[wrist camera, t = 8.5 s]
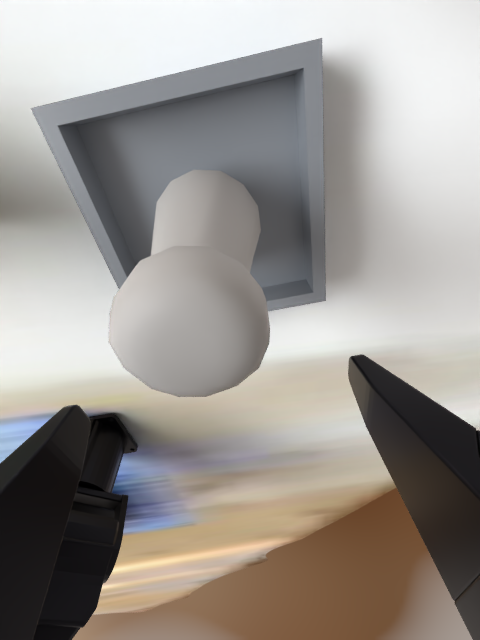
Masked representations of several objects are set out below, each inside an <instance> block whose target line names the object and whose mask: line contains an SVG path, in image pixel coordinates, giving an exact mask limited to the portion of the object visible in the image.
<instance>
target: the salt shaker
mask: <svg viewBox="0 0 480 640" xmlns="http://www.w3.org/2000/svg"><path fill="white" fill-rule="evenodd" d="M260 232H261V227H260V218H259V210H258V205H257V204H256V202H255V201H254V199H253V198H252V196H251V195H250V193H249V192H248V190H247V189H246V187H245V186H244V184H242V183H240V182H239V181H237V180H235V179H234V178H232V177H230V176H229V175H227V174H225V173H224V172H222V171H214V170H192V171H190V172H188V173H186V174H184V175H182V176H180V177H178V178H176V179H174V180H172V181H171V182H170V183H169V184H168V186H167V187H166V189H165V190H164V192H163V193H162V195H161V196H160V198H159V199H158V201H157V204H156V212H155V221H154V230H153V240H152V249H151V256H149V257H147V258H145V259H143V260H140V261H139V263H138V264H137V265H136V267H135V268H134V269H133V271H132V272H131V273H130V275H129V276H128V278H127V279H126V281H125V282H124V283H123V285H122V286H121V288H120V289H119V291H118V292H117V293H116V295H115V296H114V299H113V303H112V307H111V311H110V322H109V344H110V345H111V347H112V349H113V350H114V352H115V354H116V356H117V357H118V359H119V361H120V362H121V364H122V366H123V367H124V368H125V369H126V370H127V371H128V372H130V373H131V374H132V375H134V376H135V377H136V378H138V379H139V380H140V381H142V382H143V383H144V384H146V385H147V386H149V387H150V388H151V389H154V390H157V391H161V392H164V393H168V394H171V395H174V396H178V397H206V396H209V395H212V394H215V393H218V392H221V391H224V390H227V389H230V388H232V387H235V386H237V385H239V384H240V383H241V382H242V381H243V380H245V379H246V378H247V377H248V376H250V375H251V374H252V373H253V372H255V371H256V370H257V369H258V368H259V367H260V364H261V362H262V359H263V357H264V354H265V352H266V350H267V347H268V345H269V337H270V325H269V317H268V310H267V302H266V298H265V295H264V293H263V290H262V288H261V287H260V285H259V284H258V283H257V282H256V280H255V279H254V278H253V277H252V275H251V274H250V270H251V265H252V261H253V257H254V253H255V250H256V246H257V242H258V239H259V235H260Z"/></svg>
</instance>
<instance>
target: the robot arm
mask: <svg viewBox="0 0 480 640" xmlns="http://www.w3.org/2000/svg"><path fill="white" fill-rule="evenodd" d="M348 377H349V381H350V384H351V387H352V390H353V392H354V395H355V398H356V400H357V403H358V406H359V409H360V411H361V414H362V417H363V419H364V422H365V425H366V427H367V429H368V431H369V433H370V435H371V437H372V439H373V441H374V443H375V445H376V447H377V449H378V451H379V453H380V455H381V457H382V459H383V461H384V463H385V465H386V467H387V469H388V471H389V473H390V475H391V477H392V479H393V481H394V483H395V485H396V487H397V489H398V491H399V493H400V495H401V497H402V499H403V501H404V503H405V505H406V507H407V509H408V511H409V513H410V515H411V517H412V519H413V521H414V523H415V525H416V527H417V529H418V531H419V533H420V535H421V537H422V539H423V541H424V543H425V545H426V546H427V549H428V551H429V553H430V555H431V557H432V559H433V561H434V563H435V565H436V567H437V569H438V571H439V572H440V575H441V576H442V579H443V580H444V583H445V585H446V587H447V589H448V591H449V592H450V594H451V597H452V598H453V600H454V601H455V605H456V607H457V609H458V611H459V613H460V615H461V617H462V619H463V621H464V623H465V625H466V627H467V629H468V631H469V633H470V635H471V637H472V639H473V640H480V431H479V430H477V431H476V428H474V427H473V426H471V425H470V424H468V423H467V422H465V421H464V420H462V419H461V418H459V417H458V416H456V415H455V414H453V413H452V412H450V411H449V410H447V409H446V408H444V407H443V406H441V405H439V404H438V403H436V402H435V401H433V400H432V399H430V398H429V397H427V396H426V395H424V394H423V393H421V392H420V391H418V390H417V389H415V388H414V387H412V386H411V385H409V384H408V383H406V382H404V381H403V380H401V379H400V378H398V377H397V376H395V375H394V374H392V373H391V372H389V371H388V370H386V369H385V368H383V367H382V366H380V365H379V364H377V363H376V362H374V361H372V360H371V359H369V358H368V357H366V356H365V355H355V356H351V357H350V358H349V369H348ZM137 448H138V446H137V444H136V443H135V441H134V440H133V438H132V437H131V436H130V434H129V433H128V431H127V430H126V428H125V427H124V426H123V424H122V423H121V421H120V420H119V418H118V417H117V416H116V415H115V414H105V415H99V416H93V417H88V416H87V415H86V414H85V412H84V411H83V410H82V409H81V407H80V406H78V405H71V406H66V407H64V408H62V409H61V410H60V411H59V412H58V413H57V414H55V415H54V416H53V417H52V418H51V419H50V420H49V421H48V422H46V423H45V424H44V425H43V426H42V427H41V428H40V429H39V430H37V431H36V432H35V433H34V434H33V435H32V436H31V437H30V438H28V439H27V440H26V441H25V442H24V443H23V444H22V445H21V446H19V447H18V448H17V449H16V450H15V451H14V452H13V453H12V454H10V455H9V456H8V457H7V458H6V459H5V460H4V461H3V462H1V463H0V640H72V638H73V637H74V636H75V634H76V633H77V632H78V630H79V629H80V628H81V627H84V626H85V624H86V623H87V622H88V620H89V618H90V617H91V616H92V614H93V612H94V611H95V609H96V608H97V604H98V600H99V596H100V592H101V588H102V585H103V583H105V582H106V581H107V580H108V578H109V576H110V574H111V572H112V570H113V568H114V565H115V563H116V560H117V557H118V553H119V550H120V546H121V542H122V536H123V529H124V522H125V515H126V509H127V502H128V495H124V494H123V495H118V494H114V493H112V490H113V486H114V483H115V480H116V477H117V473H118V470H119V467H120V463H121V460H122V457H123V454H124V453H131V452H136V451H137Z"/></svg>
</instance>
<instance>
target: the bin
mask: <svg viewBox="0 0 480 640" xmlns="http://www.w3.org/2000/svg"><path fill="white" fill-rule="evenodd" d="M31 110H32V112H33V114H34V116H35V118H36V120H37V122H38V124H39V126H40V128H41V130H42V132H43V134H44V136H45V139H46V141H47V143H48V145H49V147H50V149H51V151H52V153H53V155H54V157H55V159H56V161H57V163H58V165H59V167H60V169H61V171H62V173H63V175H64V177H65V179H66V182H67V184H68V186H69V188H70V190H71V192H72V194H73V196H74V198H75V200H76V202H77V204H78V206H79V208H80V210H81V212H82V214H83V216H84V218H85V220H86V222H87V224H88V227H89V229H90V231H91V233H92V235H93V237H94V239H95V241H96V243H97V245H98V247H99V249H100V251H101V253H102V255H103V257H104V259H105V261H106V263H107V265H108V267H109V270H110V272H111V274H112V276H113V278H114V280H115V282H116V284H117V286H118V288H119V289H120V288H121V286H122V285H123V283H124V282H125V281H126V279H127V278H128V276H129V275H130V273H131V272H132V271H133V269H134V268H135V267H136V265H137V264H138V263H139V261H140V260H143V259H145V258H147V257H149V256H151V249H152V240H153V230H154V221H155V212H156V204H157V201H158V199H159V198H160V196H161V195H162V193H163V192H164V190H165V189H166V187H167V186H168V184H169V183H170V182H171V181H172V180H174V179H176V178H178V177H180V176H182V175H184V174H186V173H188V172H190V171H192V170H214V171H222V172H224V173H225V174H227V175H229V176H230V177H232V178H234V179H235V180H237V181H239V182H240V183H242V184H244V186H245V187H246V189H247V190H248V192H249V193H250V195H251V196H252V198H253V199H254V201H255V202H256V204H257V205H258V210H259V218H260V227H261V232H260V235H259V239H258V242H257V246H256V250H255V253H254V257H253V261H252V265H251V270H250V274H251V275H252V277H253V278H254V279H255V280H256V282H257V283H258V284H259V285H260V287H261V288H262V290H263V293H264V295H265V298H266V302H267V310H268V311H272V310H278V309H283V308H289V307H294V306H299V305H305V304H310V303H316V302H321V301H326V286H325V214H324V142H323V71H322V38H320V39H316V40H312V41H308V42H304V43H300V44H295V45H291V46H287V47H283V48H279V49H275V50H270V51H266V52H262V53H258V54H254V55H250V56H246V57H241V58H237V59H233V60H229V61H225V62H221V63H217V64H212V65H208V66H204V67H200V68H196V69H192V70H188V71H183V72H179V73H175V74H171V75H167V76H163V77H158V78H154V79H150V80H146V81H142V82H138V83H134V84H129V85H125V86H121V87H117V88H113V89H109V90H105V91H100V92H96V93H92V94H88V95H84V96H80V97H75V98H71V99H67V100H63V101H59V102H55V103H51V104H46V105H42V106H38V107H34V108H31Z"/></svg>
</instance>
